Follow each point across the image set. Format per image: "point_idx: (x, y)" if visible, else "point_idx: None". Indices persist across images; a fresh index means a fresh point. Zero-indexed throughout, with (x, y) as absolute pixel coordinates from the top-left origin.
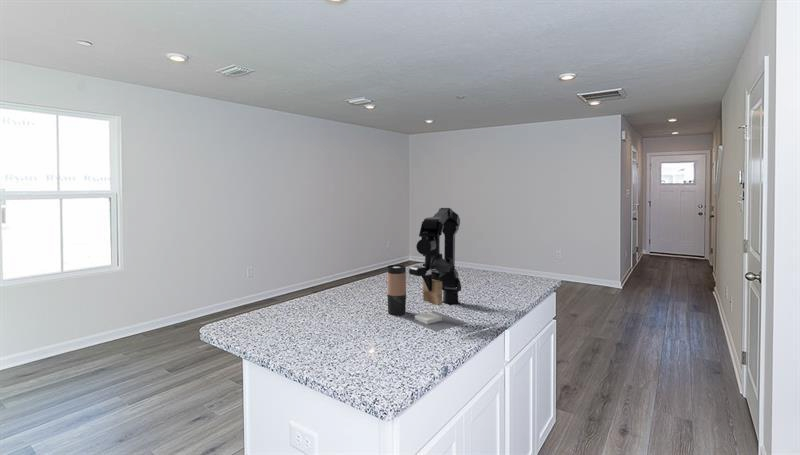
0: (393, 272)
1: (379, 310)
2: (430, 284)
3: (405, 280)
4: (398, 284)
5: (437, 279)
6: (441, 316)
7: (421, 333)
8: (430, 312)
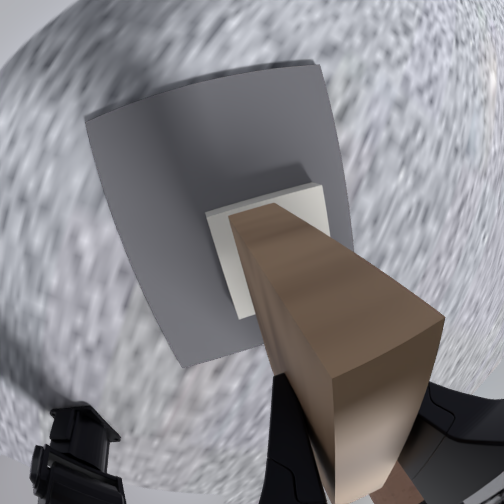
0: None
1: None
2: None
3: (393, 474)
4: None
5: (315, 481)
6: (208, 221)
7: (374, 96)
8: (206, 354)
